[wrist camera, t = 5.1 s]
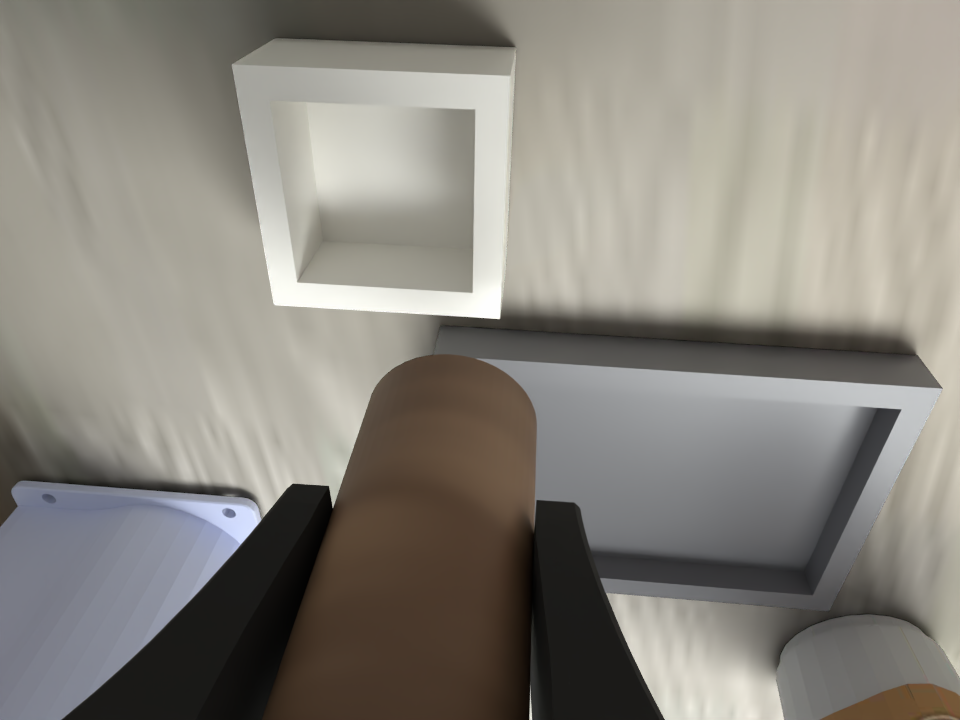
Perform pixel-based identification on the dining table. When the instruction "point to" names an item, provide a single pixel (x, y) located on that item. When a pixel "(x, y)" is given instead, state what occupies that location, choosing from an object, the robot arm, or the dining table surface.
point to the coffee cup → (866, 672)
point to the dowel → (424, 558)
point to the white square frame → (381, 172)
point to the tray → (714, 455)
